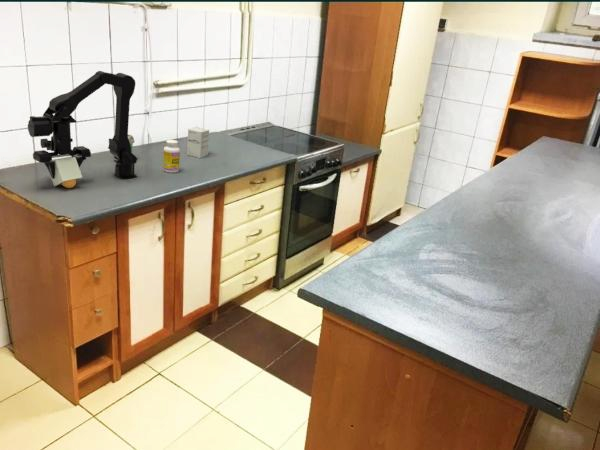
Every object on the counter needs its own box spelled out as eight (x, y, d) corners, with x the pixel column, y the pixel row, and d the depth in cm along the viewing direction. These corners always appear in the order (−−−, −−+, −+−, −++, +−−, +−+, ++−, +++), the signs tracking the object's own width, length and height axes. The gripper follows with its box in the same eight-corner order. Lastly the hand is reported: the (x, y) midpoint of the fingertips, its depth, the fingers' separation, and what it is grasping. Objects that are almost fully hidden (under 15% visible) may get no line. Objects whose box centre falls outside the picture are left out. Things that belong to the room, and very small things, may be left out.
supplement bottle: (171, 174, 215) (172, 144, 210) (159, 170, 218) (160, 140, 213) (182, 171, 220) (183, 141, 215) (171, 167, 223) (171, 138, 218)
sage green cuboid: (73, 182, 192) (66, 162, 192) (82, 177, 187) (75, 156, 186) (54, 186, 187) (46, 165, 186) (62, 181, 182) (55, 160, 181)
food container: (125, 164, 219) (125, 141, 215) (112, 162, 219) (111, 139, 216) (139, 157, 230) (139, 135, 226) (126, 155, 231) (126, 133, 227)
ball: (77, 173, 186) (79, 187, 187) (70, 172, 189) (73, 185, 190) (64, 176, 182) (66, 190, 184) (57, 174, 185) (59, 188, 187)
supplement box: (186, 155, 242) (187, 128, 237) (195, 152, 249) (196, 126, 244) (199, 158, 240) (201, 132, 235) (208, 155, 247) (209, 129, 242)
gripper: (75, 127, 193) (76, 167, 199) (24, 131, 180) (27, 174, 185) (91, 134, 187) (92, 175, 193) (39, 139, 173) (42, 183, 179)
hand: (63, 176), depth 188 cm, fingers closed on sage green cuboid, 8 cm apart
